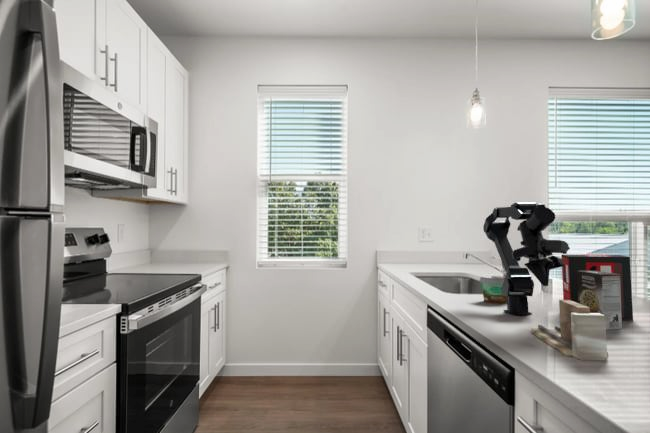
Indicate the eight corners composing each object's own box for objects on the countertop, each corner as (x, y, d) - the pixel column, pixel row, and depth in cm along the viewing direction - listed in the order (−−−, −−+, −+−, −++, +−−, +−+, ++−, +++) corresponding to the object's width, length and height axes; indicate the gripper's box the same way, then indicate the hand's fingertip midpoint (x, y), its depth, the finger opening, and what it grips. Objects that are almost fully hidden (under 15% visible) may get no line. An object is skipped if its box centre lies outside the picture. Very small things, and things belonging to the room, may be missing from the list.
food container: (484, 304, 142) (483, 278, 142) (480, 300, 148) (479, 276, 148) (517, 304, 140) (516, 278, 140) (512, 301, 146) (511, 276, 146)
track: (531, 331, 104) (529, 296, 104) (565, 332, 102) (563, 297, 103) (571, 359, 82) (569, 315, 82) (614, 360, 81) (612, 315, 81)
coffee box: (578, 322, 113) (575, 270, 113) (597, 321, 113) (594, 269, 114) (603, 330, 104) (600, 274, 104) (623, 329, 104) (620, 273, 105)
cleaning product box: (571, 317, 119) (568, 256, 120) (564, 311, 127) (561, 254, 128) (633, 320, 113) (629, 256, 114) (620, 314, 122) (617, 254, 122)
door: (559, 338, 93) (558, 299, 93) (571, 339, 93) (569, 299, 93) (578, 350, 84) (576, 307, 85) (591, 350, 84) (589, 307, 84)
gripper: (541, 220, 104) (557, 272, 96) (574, 236, 113) (590, 284, 105) (506, 234, 112) (517, 282, 105) (538, 247, 121) (551, 293, 114)
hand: (545, 285), depth 107 cm, fingers closed
